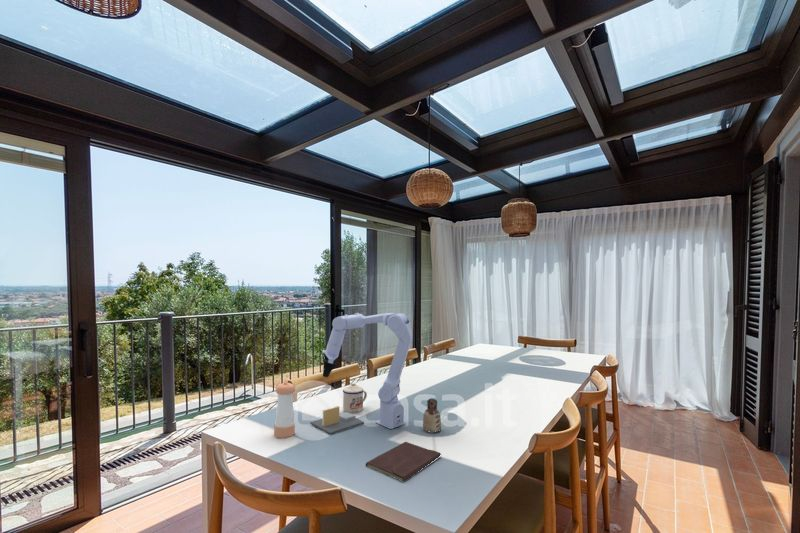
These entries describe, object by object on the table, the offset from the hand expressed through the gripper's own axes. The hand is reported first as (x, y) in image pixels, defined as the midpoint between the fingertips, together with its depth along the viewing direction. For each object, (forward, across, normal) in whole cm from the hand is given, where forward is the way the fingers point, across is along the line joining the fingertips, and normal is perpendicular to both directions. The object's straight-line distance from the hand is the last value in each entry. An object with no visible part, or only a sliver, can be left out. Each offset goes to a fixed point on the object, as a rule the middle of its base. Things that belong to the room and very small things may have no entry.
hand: (325, 373), depth 161 cm
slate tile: (+12, +10, +13) cm, 20 cm away
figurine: (+2, +24, +44) cm, 50 cm away
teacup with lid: (+14, -2, +18) cm, 23 cm away
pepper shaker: (+18, +21, -10) cm, 29 cm away
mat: (+14, +14, +9) cm, 21 cm away
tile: (+13, +16, +7) cm, 21 cm away
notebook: (+4, +48, +28) cm, 56 cm away
